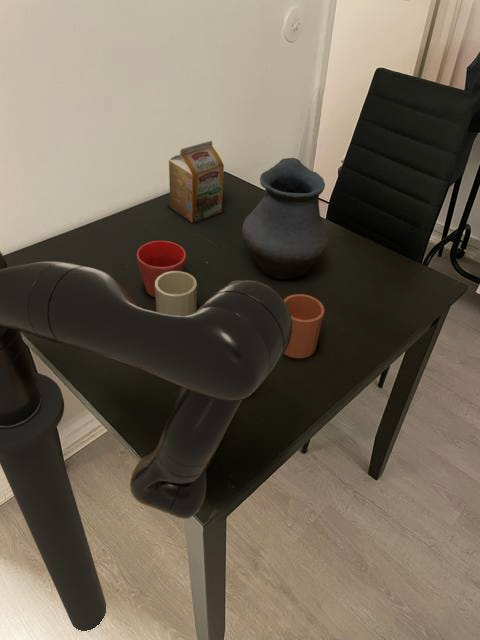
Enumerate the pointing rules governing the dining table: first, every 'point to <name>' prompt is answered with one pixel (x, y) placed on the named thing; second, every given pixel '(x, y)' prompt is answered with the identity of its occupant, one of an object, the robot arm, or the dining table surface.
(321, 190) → the dark grey vase
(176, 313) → the cream cup
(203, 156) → the milk carton
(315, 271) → the dining table surface
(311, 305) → the terracotta cup
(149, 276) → the flower pot
